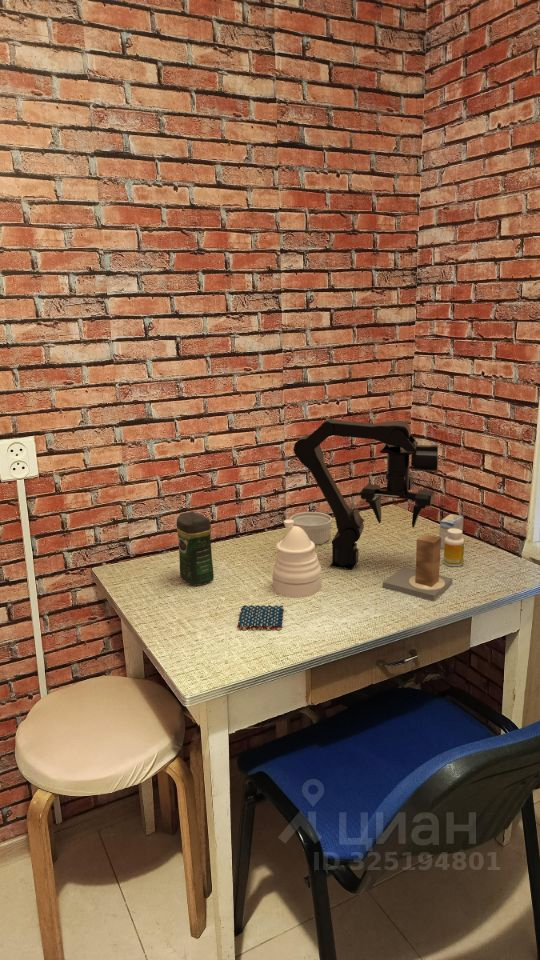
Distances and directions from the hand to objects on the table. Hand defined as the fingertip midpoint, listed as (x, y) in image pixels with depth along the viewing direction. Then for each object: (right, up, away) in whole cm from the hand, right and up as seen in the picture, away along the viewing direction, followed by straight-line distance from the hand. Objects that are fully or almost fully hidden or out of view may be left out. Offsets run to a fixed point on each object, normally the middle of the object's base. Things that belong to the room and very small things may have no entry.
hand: (396, 524), depth 175 cm
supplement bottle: (+17, -11, +7) cm, 22 cm away
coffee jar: (-54, -15, +1) cm, 56 cm away
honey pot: (-27, -16, -5) cm, 32 cm away
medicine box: (+20, -8, +19) cm, 29 cm away
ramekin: (-21, -7, +27) cm, 35 cm away
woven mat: (-36, -22, -22) cm, 48 cm away
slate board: (+4, -15, -7) cm, 17 cm away
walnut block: (+6, -14, -9) cm, 18 cm away
